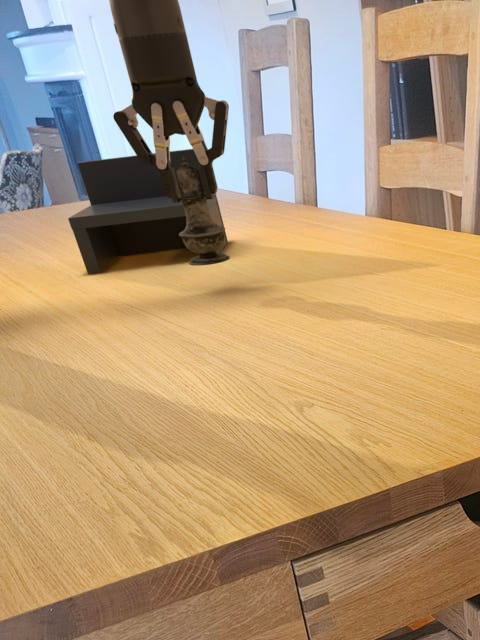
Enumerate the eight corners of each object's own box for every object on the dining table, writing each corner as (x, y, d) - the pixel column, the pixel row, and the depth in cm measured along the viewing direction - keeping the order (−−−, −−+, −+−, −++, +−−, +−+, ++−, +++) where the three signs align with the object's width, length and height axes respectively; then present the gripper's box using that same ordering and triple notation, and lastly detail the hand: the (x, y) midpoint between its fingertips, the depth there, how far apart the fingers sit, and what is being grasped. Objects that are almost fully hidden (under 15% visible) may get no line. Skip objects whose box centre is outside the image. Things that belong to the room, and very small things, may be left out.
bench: (87, 274, 129) (51, 172, 121) (110, 256, 140) (79, 162, 132) (215, 259, 130) (189, 156, 121) (228, 242, 141) (204, 147, 133)
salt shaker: (220, 254, 112) (195, 152, 105) (239, 258, 108) (215, 153, 101) (179, 262, 109) (151, 158, 102) (197, 268, 105) (170, 160, 98)
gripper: (218, 27, 98) (253, 190, 108) (98, 38, 97) (144, 202, 107) (208, 25, 92) (246, 198, 102) (79, 37, 91) (130, 211, 101)
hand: (193, 199), depth 105 cm, fingers closed on salt shaker, 3 cm apart
